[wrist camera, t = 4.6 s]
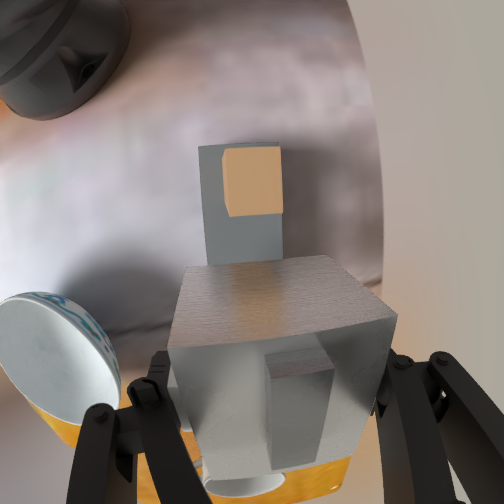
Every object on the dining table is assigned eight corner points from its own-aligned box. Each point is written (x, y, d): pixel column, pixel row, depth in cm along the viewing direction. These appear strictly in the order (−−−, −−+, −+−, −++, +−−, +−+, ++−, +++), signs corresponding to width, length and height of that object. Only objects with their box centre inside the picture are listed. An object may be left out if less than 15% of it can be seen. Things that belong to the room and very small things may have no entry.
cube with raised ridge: (186, 267, 12) (161, 373, 5) (325, 254, 13) (416, 331, 6) (208, 394, 14) (213, 497, 8) (316, 379, 15) (359, 470, 9)
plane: (202, 152, 22) (188, 129, 11) (265, 149, 23) (312, 125, 11) (222, 361, 28) (230, 451, 17) (273, 355, 29) (302, 441, 17)
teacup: (280, 420, 32) (293, 465, 24) (270, 458, 35) (279, 497, 27) (175, 421, 30) (171, 469, 22) (183, 459, 33) (182, 499, 25)
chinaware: (15, 265, 22) (-26, 290, 15) (127, 269, 24) (97, 305, 17) (46, 371, 26) (23, 408, 19) (147, 388, 28) (135, 436, 21)
